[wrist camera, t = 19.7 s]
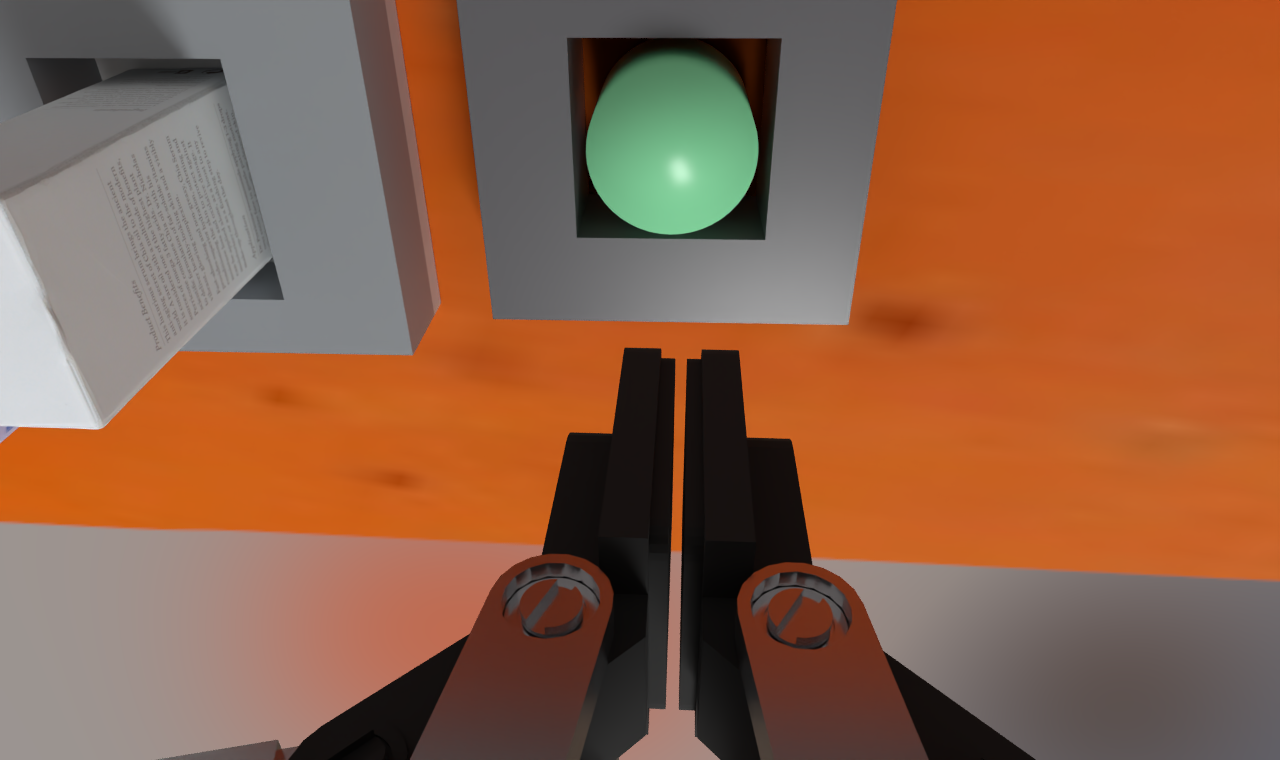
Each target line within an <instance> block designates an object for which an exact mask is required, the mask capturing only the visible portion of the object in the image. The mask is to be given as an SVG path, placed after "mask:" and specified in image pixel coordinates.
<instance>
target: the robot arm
mask: <svg viewBox="0 0 1280 760" xmlns="http://www.w3.org/2000/svg"><path fill="white" fill-rule="evenodd" d="M674 401H675V359H671V358H661V349H657V348H625V349H624V355H623V362H622V369H621V376H620V383H619V390H618V398H617V405H616V412H615V419H614V426H613V433H612V434H603V433H569V435H568V438H567V441H566V446H565V450H564V455H563V460H562V464H561V469H560V473H559V478H558V483H557V487H556V492H555V497H554V501H553V506H552V510H551V515H550V520H549V524H548V529H547V533H546V538H545V543H544V547H543V552H542V555H541V556H536V557H531V558H529V559H526V560H524V561H522V562H520V563H517V564H515V565H514V566H512V567H511V568H510V569H509V570H508V571H506V572H505V573H504V574H502V575H501V576H500V577H499V579H498V580H497V582H496V583H495V584H494V586H493V587H492V589H491V590H490V593H489V595H488V597H487V599H486V601H485V603H484V605H483V607H482V609H481V611H480V614H479V616H478V618H477V620H476V622H475V624H474V626H473V628H472V631H471V633H470V634H469V635H467V636H465V637H464V638H462V639H461V640H459V641H457V642H456V643H454V644H453V645H451V646H449V647H448V648H446V649H445V650H443V651H441V652H440V653H438V654H437V655H435V656H433V657H432V658H430V659H429V660H427V661H425V662H424V663H422V664H420V665H419V666H417V667H416V668H414V669H413V670H411V671H409V672H408V673H406V674H404V675H403V676H401V677H400V678H398V679H397V680H395V681H393V682H392V683H390V684H388V685H387V686H385V687H384V688H382V689H380V690H379V691H378V692H376V693H374V694H372V695H371V696H369V697H368V698H366V699H364V700H363V701H361V702H360V703H358V704H356V705H355V706H353V707H351V708H350V709H348V710H347V711H345V712H344V713H342V714H340V715H339V716H337V717H335V718H334V719H332V720H331V721H329V722H327V723H326V724H324V725H323V726H321V727H320V728H319V729H317V730H316V731H315V732H314V733H312V734H311V735H310V736H309V737H307V738H306V739H305V740H303V742H302V743H301V744H300V745H299V746H297V747H291V748H285V749H281V746H280V744H279V741H278V740H274V741H267V742H261V743H255V744H249V745H243V746H237V747H231V748H225V749H219V750H213V751H206V752H201V753H195V754H188V755H183V756H176V757H170V758H164V759H158V760H619V757H620V756H621V755H622V754H623V753H625V752H626V751H627V750H628V749H630V748H631V747H632V746H633V745H634V744H636V743H637V742H638V741H639V740H640V739H642V738H643V737H644V736H645V735H646V734H647V735H648V726H649V725H648V724H649V708H653V709H654V708H655V709H665V707H666V678H667V646H668V619H669V588H670V587H669V586H670V559H671V558H670V557H671V530H672V494H673V447H674ZM681 567H682V568H681V622H680V676H679V679H680V680H679V710H695V737H698V739H699V740H700V741H701V742H702V743H704V744H705V745H706V746H707V747H708V748H709V749H710V750H711V751H712V752H713V753H714V754H715V755H716V756H717V757H718V758H719V759H720V760H1035V759H1034V758H1033V757H1031V756H1030V755H1028V754H1027V753H1026V752H1024V751H1023V750H1021V749H1020V748H1019V747H1017V746H1016V745H1014V744H1013V743H1011V742H1010V741H1009V740H1007V739H1006V738H1005V737H1003V736H1002V735H1000V734H999V733H998V732H996V731H995V730H993V729H992V728H991V727H989V726H988V725H986V724H985V723H983V722H982V721H981V720H979V719H978V718H977V717H975V716H974V715H972V714H971V713H969V712H968V711H967V710H965V709H964V708H962V707H961V706H960V705H958V704H957V703H955V702H954V701H952V700H951V699H950V698H948V697H947V696H945V695H944V694H943V693H941V692H940V691H939V690H937V689H936V688H934V687H933V686H931V685H930V684H929V683H927V682H926V681H925V680H923V679H922V678H920V677H919V676H917V675H916V674H915V673H913V672H912V671H911V670H909V669H908V668H906V667H905V666H903V665H902V664H901V663H899V662H898V661H896V660H895V659H894V658H892V657H891V656H890V655H888V654H887V653H885V652H884V651H883V650H882V647H881V645H880V642H879V640H878V638H877V635H876V633H875V631H874V628H873V626H872V624H871V621H870V619H869V616H868V614H867V611H866V609H865V607H864V604H863V602H862V601H861V599H860V598H859V596H858V595H857V593H856V591H855V590H854V589H853V588H852V587H851V586H850V585H849V584H848V583H846V582H845V581H844V580H843V579H842V578H841V577H839V576H837V575H835V574H834V573H832V572H830V571H828V570H826V569H824V568H821V567H817V566H814V565H812V559H811V553H810V547H809V541H808V535H807V529H806V523H805V517H804V511H803V505H802V499H801V493H800V487H799V481H798V474H797V468H796V462H795V456H794V450H793V445H792V441H791V440H790V439H775V438H747V436H746V425H745V414H744V402H743V391H742V380H741V369H740V357H739V351H738V350H702V353H701V359H687V379H686V412H685V445H684V477H683V512H682V566H681Z"/></svg>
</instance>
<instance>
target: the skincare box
mask: <svg viewBox="0 0 1280 760" xmlns="http://www.w3.org/2000/svg"><path fill="white" fill-rule="evenodd" d="M272 257H273V256H272V252H271V248H270V244H269V241H268V237H267V233H266V229H265V225H264V222H263V218H262V214H261V210H260V207H259V203H258V199H257V195H256V192H255V188H254V184H253V180H252V177H251V173H250V169H249V165H248V162H247V158H246V154H245V150H244V147H243V143H242V139H241V135H240V132H239V128H238V124H237V120H236V117H235V113H234V109H233V105H232V101H231V98H230V94H229V90H228V86H227V83H226V79H225V75H224V71H223V68H184V69H130V70H127V71H125V72H122V73H120V74H118V75H115V76H113V77H111V78H109V79H106V80H104V81H101V82H99V83H96V84H94V85H91V86H89V87H86V88H84V89H81V90H79V91H76V92H74V93H72V94H70V95H67V96H65V97H62V98H60V99H57V100H55V101H53V102H50V103H48V104H45V105H43V106H41V107H38V108H36V109H34V110H31V111H29V112H26V113H24V114H22V115H19V116H17V117H14V118H12V119H10V120H7V121H5V122H2V123H0V426H16V427H50V428H80V429H101V428H103V427H104V426H106V425H107V423H108V422H109V421H110V420H111V419H112V418H113V417H114V416H115V415H116V414H117V413H118V412H119V411H120V410H121V409H122V408H123V407H124V406H125V405H126V403H127V402H128V401H130V400H131V399H132V398H133V396H134V395H135V394H136V393H137V392H138V391H139V390H140V389H141V388H142V387H143V386H144V385H145V384H146V383H147V382H148V381H149V380H150V379H151V378H152V377H153V376H154V375H155V374H156V373H157V372H158V371H159V370H160V369H161V368H162V367H163V366H164V365H165V364H166V363H167V362H168V361H169V360H170V359H171V358H172V357H173V356H174V355H175V354H176V353H177V352H178V351H179V350H180V349H181V348H182V347H183V346H184V345H185V344H186V343H187V342H188V341H189V340H190V339H191V338H192V337H193V336H194V335H195V334H196V333H197V332H198V331H199V330H200V329H201V328H202V327H203V326H204V325H205V324H206V323H207V322H208V321H209V320H210V319H211V318H212V317H213V316H214V315H215V314H216V313H217V312H218V311H219V310H220V309H221V308H222V307H223V306H224V305H225V304H226V303H227V302H228V301H229V300H230V299H231V298H232V297H233V296H234V295H235V294H236V293H237V292H238V291H239V290H240V289H241V288H242V287H243V286H244V285H245V284H246V283H247V282H248V281H249V280H250V279H251V278H252V277H253V276H254V275H255V274H256V273H257V272H258V271H259V270H260V269H261V268H262V267H264V265H265V264H266V263H267V262H268V261H269V260H270V259H271V258H272Z"/></svg>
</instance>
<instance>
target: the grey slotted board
mask: <svg viewBox="0 0 1280 760" xmlns="http://www.w3.org/2000/svg"><path fill="white" fill-rule="evenodd" d="M184 68H223V71H224V75H225V79H226V83H227V86H228V90H229V94H230V98H231V101H232V105H233V109H234V113H235V117H236V120H237V124H238V128H239V132H240V135H241V139H242V143H243V147H244V150H245V154H246V158H247V162H248V165H249V169H250V173H251V177H252V180H253V184H254V188H255V192H256V195H257V199H258V203H259V207H260V210H261V214H262V218H263V222H264V225H265V229H266V233H267V237H268V241H269V244H270V248H271V252H272V256H273V257H272V258H271V259H270V260H269V261H268V262H267V263H266V264H265V265H264V267H262V268H261V269H260V270H259V271H258V272H257V273H256V274H255V275H254V276H253V277H252V278H251V279H250V280H249V281H248V282H247V283H246V284H245V285H244V286H243V287H242V288H241V289H240V290H239V291H238V292H237V293H236V294H235V295H234V296H233V297H232V298H231V299H230V300H229V301H228V302H227V303H226V304H225V305H224V306H223V307H222V308H221V309H220V310H219V311H218V312H217V313H216V314H215V315H214V316H213V317H212V318H211V319H210V320H209V321H208V322H207V323H206V324H205V325H204V326H203V327H202V328H201V329H200V330H199V331H198V332H197V333H196V334H195V335H194V336H193V337H192V338H191V339H190V340H189V341H188V342H187V343H186V344H185V345H184V346H183V347H182V348H181V349H180V350H179V351H211V352H266V353H322V354H377V355H413V354H414V352H415V350H416V348H417V347H418V345H419V343H420V341H421V339H422V337H423V335H424V333H425V332H426V330H427V328H428V326H429V324H430V322H431V320H432V319H433V317H434V315H435V313H436V311H437V309H438V307H439V305H440V304H441V300H440V294H439V287H438V280H437V274H436V267H435V261H434V254H433V248H432V241H431V234H430V228H429V221H428V215H427V208H426V201H425V195H424V188H423V182H422V175H421V168H420V162H419V155H418V149H417V142H416V135H415V129H414V122H413V116H412V109H411V103H410V96H409V89H408V83H407V76H406V70H405V63H404V56H403V50H402V43H401V37H400V30H399V23H398V17H397V10H396V4H395V0H0V123H2V122H5V121H7V120H10V119H12V118H14V117H17V116H19V115H22V114H24V113H26V112H29V111H31V110H34V109H36V108H38V107H41V106H43V105H45V104H48V103H50V102H53V101H55V100H57V99H60V98H62V97H65V96H67V95H70V94H72V93H74V92H76V91H79V90H81V89H84V88H86V87H89V86H91V85H94V84H96V83H99V82H101V81H104V80H106V79H109V78H111V77H113V76H115V75H118V74H120V73H122V72H125V71H127V70H130V69H184Z"/></svg>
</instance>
